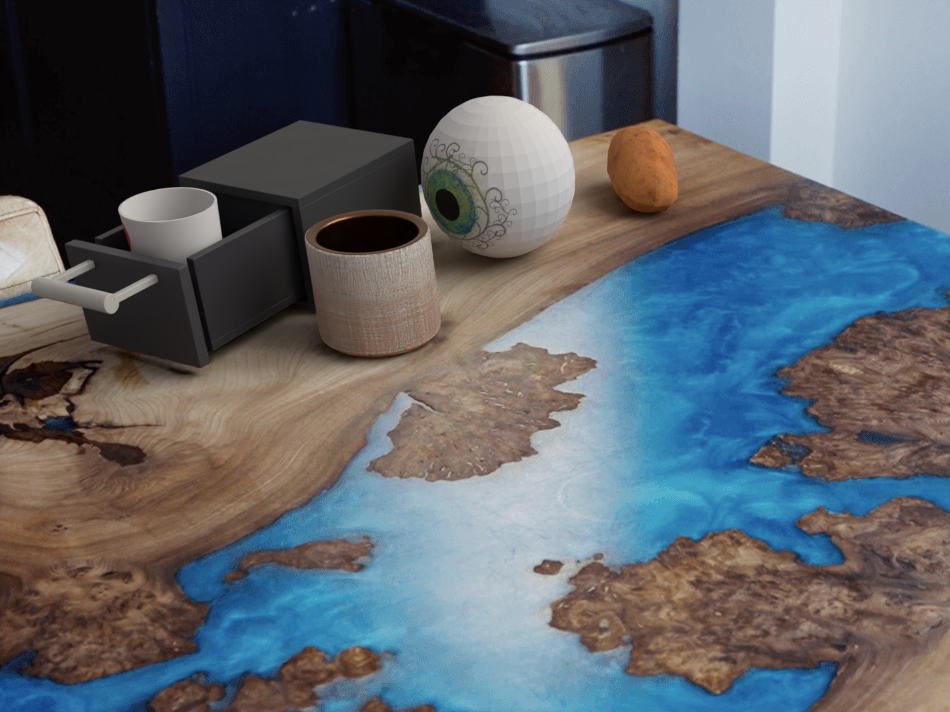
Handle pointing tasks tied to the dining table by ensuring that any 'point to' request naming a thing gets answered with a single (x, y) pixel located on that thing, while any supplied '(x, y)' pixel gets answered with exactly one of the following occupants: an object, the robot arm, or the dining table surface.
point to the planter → (373, 282)
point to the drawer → (185, 284)
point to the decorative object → (498, 176)
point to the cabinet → (317, 177)
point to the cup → (171, 222)
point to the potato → (642, 169)
